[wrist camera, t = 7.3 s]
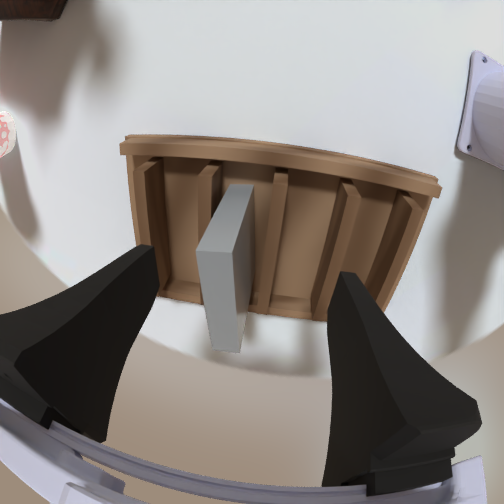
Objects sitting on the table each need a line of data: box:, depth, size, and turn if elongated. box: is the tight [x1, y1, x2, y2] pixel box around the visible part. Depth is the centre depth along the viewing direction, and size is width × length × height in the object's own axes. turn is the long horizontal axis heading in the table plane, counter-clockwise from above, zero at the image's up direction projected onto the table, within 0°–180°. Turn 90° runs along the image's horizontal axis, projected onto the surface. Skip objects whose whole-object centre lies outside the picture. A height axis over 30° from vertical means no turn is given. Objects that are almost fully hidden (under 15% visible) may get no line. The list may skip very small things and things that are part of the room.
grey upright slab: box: [196, 184, 255, 353], centre depth 17 cm, size 2×7×8 cm, turn 1°
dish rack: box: [120, 135, 442, 321], centre depth 20 cm, size 22×13×4 cm, turn 85°
